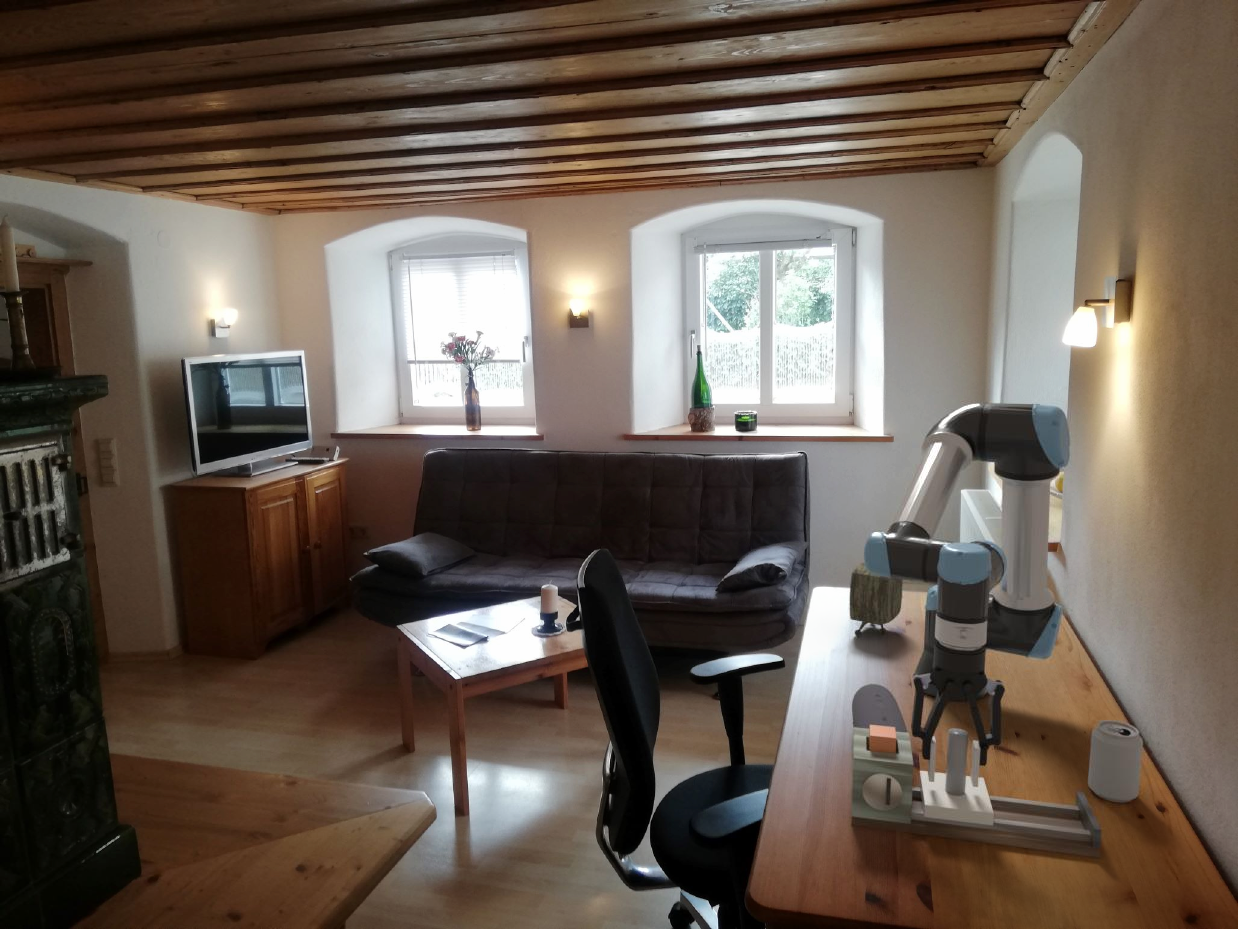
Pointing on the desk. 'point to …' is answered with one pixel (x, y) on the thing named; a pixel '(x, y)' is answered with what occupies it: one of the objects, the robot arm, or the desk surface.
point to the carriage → (956, 787)
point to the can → (1115, 761)
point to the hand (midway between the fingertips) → (952, 779)
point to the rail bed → (1021, 823)
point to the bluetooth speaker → (876, 708)
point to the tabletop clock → (874, 598)
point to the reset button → (882, 739)
